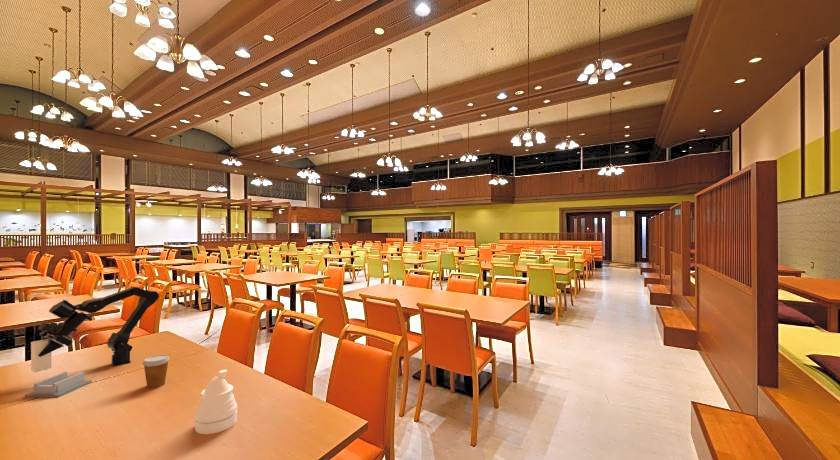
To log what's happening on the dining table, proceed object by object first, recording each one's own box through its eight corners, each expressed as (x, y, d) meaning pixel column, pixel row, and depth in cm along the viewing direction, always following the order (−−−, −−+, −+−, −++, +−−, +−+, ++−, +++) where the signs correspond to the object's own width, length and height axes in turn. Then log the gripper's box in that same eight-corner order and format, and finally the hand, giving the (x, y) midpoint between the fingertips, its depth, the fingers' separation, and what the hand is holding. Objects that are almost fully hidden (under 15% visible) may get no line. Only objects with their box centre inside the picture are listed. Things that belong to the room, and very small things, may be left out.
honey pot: (228, 410, 130) (229, 363, 130) (243, 422, 122) (243, 371, 122) (189, 424, 120) (190, 373, 120) (202, 438, 112) (203, 383, 112)
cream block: (47, 366, 154) (47, 338, 154) (51, 368, 152) (51, 340, 152) (31, 370, 150) (31, 342, 150) (35, 372, 148) (35, 343, 148)
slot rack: (61, 382, 154) (61, 371, 154) (91, 382, 154) (92, 371, 154) (24, 396, 140) (25, 384, 140) (58, 397, 140) (59, 384, 140)
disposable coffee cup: (174, 380, 156) (175, 354, 156) (156, 390, 146) (157, 362, 146) (155, 379, 157) (155, 353, 157) (136, 389, 147) (136, 361, 147)
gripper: (45, 312, 159) (9, 343, 149) (62, 317, 150) (25, 349, 140) (68, 325, 166) (35, 355, 156) (86, 330, 157) (52, 362, 147)
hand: (36, 355), depth 150 cm, fingers closed on cream block, 4 cm apart
